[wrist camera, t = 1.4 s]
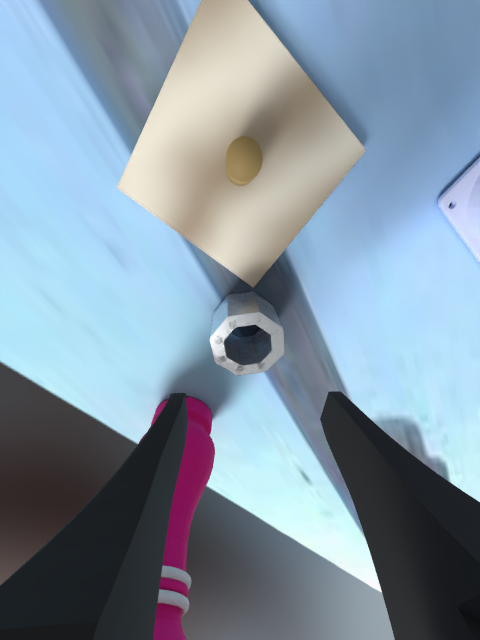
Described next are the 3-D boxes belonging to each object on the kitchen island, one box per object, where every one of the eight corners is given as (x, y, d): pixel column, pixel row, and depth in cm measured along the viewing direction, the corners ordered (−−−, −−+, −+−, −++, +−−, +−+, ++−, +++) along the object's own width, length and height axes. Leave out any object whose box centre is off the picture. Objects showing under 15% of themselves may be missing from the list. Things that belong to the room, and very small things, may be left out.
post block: (359, 152, 14) (403, 135, 11) (252, 284, 18) (258, 304, 14) (219, -21, 11) (215, -134, 7) (122, 188, 14) (88, 183, 11)
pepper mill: (144, 429, 25) (-44, 947, 8) (159, 385, 22) (-95, 1066, 5) (204, 441, 27) (163, 893, 9) (225, 401, 24) (223, 954, 6)
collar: (285, 314, 19) (298, 339, 16) (248, 353, 21) (253, 383, 18) (238, 280, 18) (241, 299, 14) (202, 326, 19) (197, 353, 16)
